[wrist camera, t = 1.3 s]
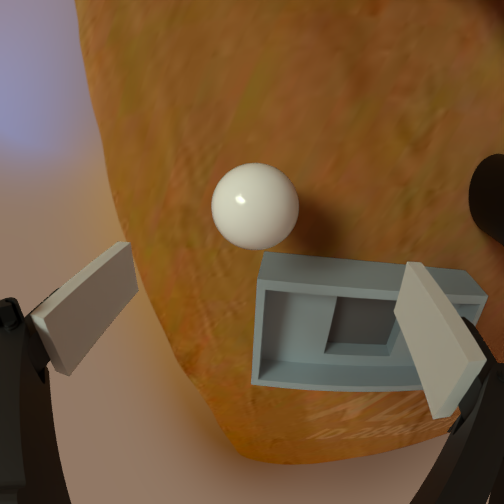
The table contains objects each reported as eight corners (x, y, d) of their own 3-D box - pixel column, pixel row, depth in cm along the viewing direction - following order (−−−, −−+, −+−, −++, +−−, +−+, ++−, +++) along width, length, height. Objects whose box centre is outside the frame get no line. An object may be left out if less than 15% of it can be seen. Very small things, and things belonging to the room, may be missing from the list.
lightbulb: (224, 165, 29) (185, 188, 19) (286, 145, 27) (281, 155, 17) (246, 223, 31) (221, 274, 21) (306, 206, 29) (311, 251, 19)
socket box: (264, 251, 32) (257, 278, 26) (465, 270, 29) (488, 296, 24) (257, 350, 37) (251, 384, 32) (429, 358, 35) (441, 388, 29)
